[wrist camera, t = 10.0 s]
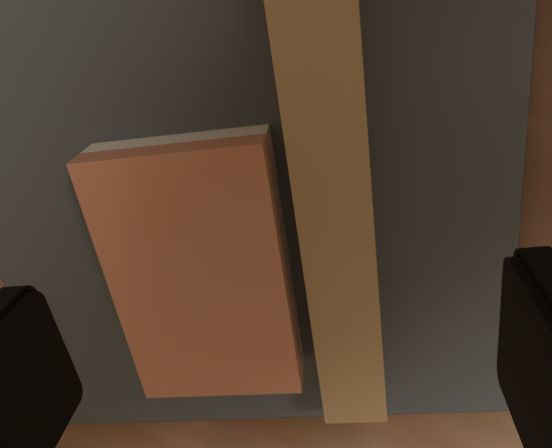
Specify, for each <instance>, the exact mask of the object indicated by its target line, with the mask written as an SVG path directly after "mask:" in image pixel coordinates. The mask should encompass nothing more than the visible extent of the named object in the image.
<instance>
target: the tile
mask: <svg viewBox="0 0 552 448" xmlns="http://www.w3.org/2000/svg"><path fill="white" fill-rule="evenodd" d="M66 166H67V169H68V172H69V175H70V177H71V180H72V183H73V186H74V189H75V192H76V195H77V198H78V201H79V204H80V206H81V209H82V212H83V215H84V218H85V221H86V224H87V227H88V230H89V233H90V235H91V238H92V241H93V244H94V247H95V250H96V253H97V256H98V259H99V262H100V265H101V267H102V270H103V273H104V276H105V279H106V282H107V285H108V288H109V291H110V294H111V296H112V299H113V302H114V305H115V308H116V311H117V314H118V317H119V320H120V323H121V325H122V328H123V331H124V334H125V337H126V340H127V343H128V346H129V349H130V352H131V354H132V357H133V360H134V363H135V366H136V369H137V372H138V375H139V378H140V381H141V383H142V386H143V389H144V392H145V395H146V398H166V397H198V396H229V395H260V394H292V393H302V384H303V368H304V352H303V345H302V338H301V332H300V325H299V318H298V312H297V305H296V298H295V291H294V285H293V278H292V271H291V265H290V258H289V251H288V244H287V238H286V231H285V224H284V218H283V211H282V204H281V197H280V191H279V184H278V177H277V170H276V164H275V157H274V150H273V144H272V137H271V130H270V124H264V125H255V126H246V127H237V128H228V129H219V130H210V131H201V132H192V133H183V134H174V135H164V136H155V137H146V138H137V139H128V140H119V141H110V142H101V143H92V144H91V145H90V146H88V147H87V148H86V149H85V150H83V151H82V152H81V153H80V154H78V155H77V156H76V157H75V158H73V159H72V160H71V161H70V162H68V163H67V164H66Z"/></svg>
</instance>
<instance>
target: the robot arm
mask: <svg viewBox="0 0 552 448" xmlns="http://www.w3.org/2000/svg"><path fill="white" fill-rule="evenodd" d="M497 376H498V381H499V385H500V388H501V390H502V393H503V396H504V398H505V401H506V403H507V406H508V408H509V411H510V414H511V416H512V419H513V421H514V424H515V426H516V429H517V432H518V434H519V437H520V439H521V442H522V444H523V447H524V448H552V248H551V247H550V246H542V247H529V248H517V249H515V251H514V253H513V257H505V258H504V261H503V270H502V286H501V303H500V319H499V336H498V352H497ZM82 395H83V387H82V383H81V381H80V378H79V376H78V374H77V371H76V369H75V367H74V364H73V362H72V360H71V357H70V355H69V353H68V350H67V348H66V345H65V343H64V341H63V338H62V336H61V334H60V331H59V329H58V327H57V324H56V322H55V320H54V317H53V315H52V312H51V310H50V308H49V305H48V303H47V301H46V298H45V296H44V295H43V294H42V293H41V292H39V291H37V290H36V289H35V288H34V287H33V286H30V285H24V286H10V287H3V288H1V289H0V448H55V447H56V445H57V443H58V441H59V440H60V438H61V436H62V434H63V432H64V431H65V429H66V427H67V425H68V423H69V422H70V420H71V418H72V416H73V414H74V413H75V411H76V409H77V407H78V406H79V404H80V402H81V399H82Z"/></svg>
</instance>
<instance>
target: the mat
mask: <svg viewBox="0 0 552 448" xmlns="http://www.w3.org/2000/svg"><path fill="white" fill-rule="evenodd" d="M536 8H537V0H0V277H1V279H2V281H3V283H4V285H5V287H10V286H24V285H30V286H33V287H34V288H35V289H36V290H37V291H39V292H41V293H42V294H43V295H44V296H45V298H46V301H47V303H48V305H49V308H50V310H51V312H52V315H53V317H54V320H55V322H56V324H57V327H58V329H59V331H60V334H61V336H62V338H63V341H64V343H65V345H66V348H67V350H68V353H69V355H70V357H71V360H72V362H73V364H74V367H75V369H76V371H77V374H78V376H79V378H80V381H81V383H82V387H83V395H82V399H81V402H80V404H79V406H78V407H77V409H76V411H75V413H74V414H73V416H72V418H71V420H70V422H69V423H68V424H97V423H130V422H163V421H196V420H229V419H262V418H295V417H324V418H325V424H335V423H371V422H388V420H387V415H394V414H428V413H461V412H494V411H506V404H507V403H506V401H505V398H504V396H503V393H502V390H501V388H500V385H499V381H498V376H497V352H498V336H499V319H500V303H501V286H502V270H503V261H504V258H505V257H513V253H514V251H515V249H517V248H518V246H519V232H520V219H521V206H522V193H523V180H524V166H525V153H526V140H527V127H528V113H529V100H530V87H531V74H532V61H533V47H534V34H535V21H536ZM264 124H270V130H271V137H272V144H273V150H274V157H275V164H276V170H277V177H278V184H279V191H280V197H281V204H282V211H283V218H284V224H285V231H286V238H287V244H288V251H289V258H290V265H291V271H292V278H293V285H294V291H295V298H296V305H297V312H298V318H299V325H300V332H301V338H302V345H303V352H304V368H303V384H302V393H292V394H260V395H229V396H198V397H166V398H146V395H145V392H144V389H143V386H142V383H141V381H140V378H139V375H138V372H137V369H136V366H135V363H134V360H133V357H132V354H131V352H130V349H129V346H128V343H127V340H126V337H125V334H124V331H123V328H122V325H121V323H120V320H119V317H118V314H117V311H116V308H115V305H114V302H113V299H112V296H111V294H110V291H109V288H108V285H107V282H106V279H105V276H104V273H103V270H102V267H101V265H100V262H99V259H98V256H97V253H96V250H95V247H94V244H93V241H92V238H91V235H90V233H89V230H88V227H87V224H86V221H85V218H84V215H83V212H82V209H81V206H80V204H79V201H78V198H77V195H76V192H75V189H74V186H73V183H72V180H71V177H70V175H69V172H68V169H67V166H66V164H67V163H68V162H70V161H71V160H72V159H73V158H75V157H76V156H77V155H78V154H80V153H81V152H82V151H83V150H85V149H86V148H87V147H88V146H90V145H91V144H92V143H101V142H110V141H119V140H128V139H137V138H146V137H155V136H164V135H174V134H183V133H192V132H201V131H210V130H219V129H228V128H237V127H246V126H255V125H264Z"/></svg>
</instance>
